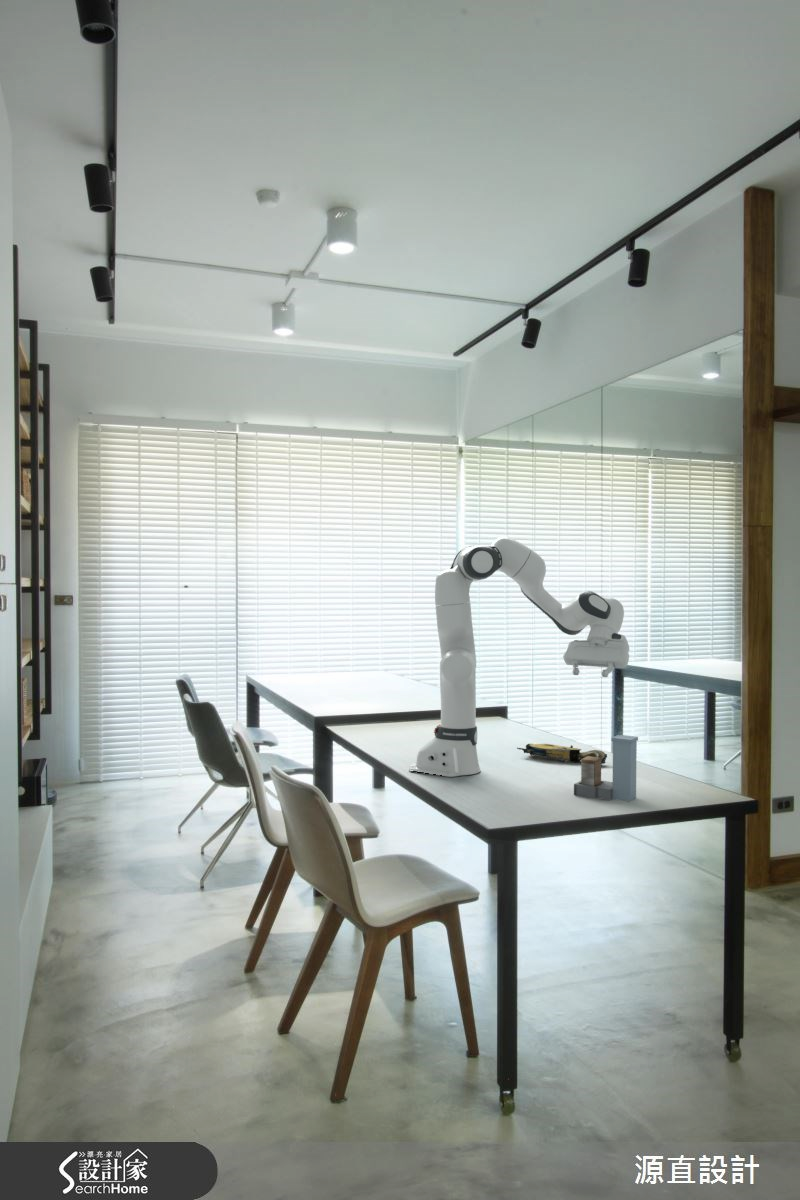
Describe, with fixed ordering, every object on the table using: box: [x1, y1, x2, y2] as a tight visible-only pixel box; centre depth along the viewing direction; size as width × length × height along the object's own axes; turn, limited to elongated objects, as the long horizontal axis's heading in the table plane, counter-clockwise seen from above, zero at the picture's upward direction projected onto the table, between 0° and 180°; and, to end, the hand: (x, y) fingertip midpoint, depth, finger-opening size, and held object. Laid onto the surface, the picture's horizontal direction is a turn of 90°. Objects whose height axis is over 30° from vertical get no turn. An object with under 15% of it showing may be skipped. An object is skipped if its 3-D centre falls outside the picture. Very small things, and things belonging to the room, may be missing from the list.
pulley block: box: [516, 743, 608, 765], centre depth 284 cm, size 14×6×30 cm
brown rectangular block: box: [580, 756, 602, 787], centre depth 239 cm, size 4×6×10 cm
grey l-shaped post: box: [573, 734, 639, 802], centre depth 237 cm, size 16×9×17 cm, turn 56°
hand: (589, 674), depth 261 cm, fingers open, 8 cm apart
